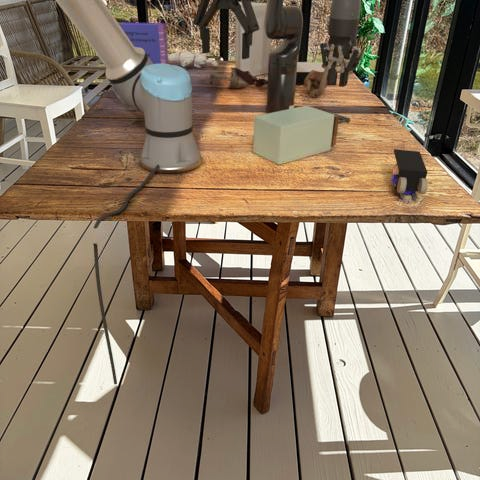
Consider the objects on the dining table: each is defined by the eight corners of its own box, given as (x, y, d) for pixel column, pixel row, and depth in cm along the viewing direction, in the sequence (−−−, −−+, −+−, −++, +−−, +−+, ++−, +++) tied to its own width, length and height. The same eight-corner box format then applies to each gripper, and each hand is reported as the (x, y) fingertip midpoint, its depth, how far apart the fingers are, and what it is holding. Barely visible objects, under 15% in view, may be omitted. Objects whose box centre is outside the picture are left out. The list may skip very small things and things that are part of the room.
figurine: (210, 87, 179) (288, 95, 182) (212, 65, 176) (291, 73, 180) (208, 84, 201) (278, 91, 205) (210, 64, 198) (280, 71, 202)
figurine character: (424, 210, 105) (414, 176, 117) (433, 180, 100) (421, 147, 112) (393, 207, 106) (386, 174, 118) (400, 178, 101) (392, 146, 113)
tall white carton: (273, 76, 210) (276, 6, 196) (239, 77, 209) (240, 6, 194) (266, 67, 226) (268, 2, 212) (235, 67, 225) (235, 1, 210)
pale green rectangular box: (303, 139, 140) (306, 105, 135) (330, 150, 133) (334, 114, 128) (253, 152, 131) (254, 116, 125) (278, 164, 123) (281, 126, 118)
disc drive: (294, 84, 198) (295, 72, 195) (288, 72, 217) (289, 61, 215) (336, 84, 198) (337, 72, 196) (326, 73, 218) (327, 61, 215)
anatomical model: (314, 99, 193) (314, 101, 179) (299, 84, 192) (297, 84, 178) (337, 75, 188) (338, 74, 174) (321, 59, 188) (321, 57, 173)
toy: (173, 75, 210) (172, 58, 207) (149, 64, 228) (148, 49, 224) (220, 69, 222) (220, 53, 218) (194, 59, 239) (193, 45, 236)
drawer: (325, 131, 144) (328, 104, 140) (349, 140, 137) (353, 112, 133) (265, 146, 132) (266, 117, 127) (288, 157, 125) (290, 127, 121)
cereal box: (169, 88, 189) (165, 22, 177) (167, 91, 185) (163, 24, 172) (126, 87, 190) (119, 21, 177) (123, 90, 186) (115, 23, 173)
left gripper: (274, -30, 120) (270, 59, 131) (196, -33, 132) (198, 48, 143) (259, -30, 115) (255, 63, 126) (179, -33, 127) (182, 52, 137)
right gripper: (376, 18, 119) (365, 88, 128) (334, 12, 129) (327, 78, 138) (355, 20, 116) (346, 92, 124) (314, 14, 125) (309, 81, 134)
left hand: (225, 55), depth 134 cm, fingers open, 13 cm apart
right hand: (336, 84), depth 131 cm, fingers open, 3 cm apart
